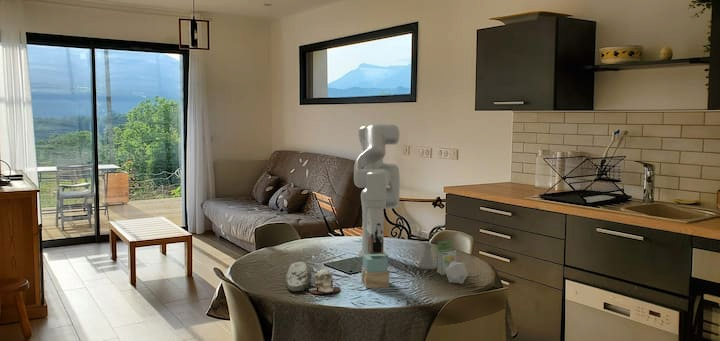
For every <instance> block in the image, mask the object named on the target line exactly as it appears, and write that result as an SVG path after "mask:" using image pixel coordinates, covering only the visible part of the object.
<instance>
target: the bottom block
mask: <svg viewBox="0 0 720 341" xmlns="http://www.w3.org/2000/svg"><path fill="white" fill-rule="evenodd" d="M390 274H391V272H390V271H389V270H388V272H370V273H367V272H366V271H365V269H364V268H363V266H361V283H362V284H363V286H364V288H365V289H374V288H375V289H376V288H390Z"/></svg>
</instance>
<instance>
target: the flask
mask: <svg viewBox="0 0 720 341" xmlns="http://www.w3.org/2000/svg"><path fill="white" fill-rule="evenodd" d="M423 246H424V251H423V255H422V258H421V260H420V262H419V265H418V267H419V268H420V269H422V270H434V269H437V265H436V264H435V261H434V257H433V255H432V244H430V243H425V244H424V245H423Z"/></svg>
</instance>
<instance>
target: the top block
mask: <svg viewBox="0 0 720 341" xmlns="http://www.w3.org/2000/svg"><path fill="white" fill-rule="evenodd" d="M388 263H389V258H388V257H387V255H386V256H385V255H384V254H363V258H362V267H363V268H364V269H365V271H366V272H367V273H370V272H388V271H389V270H388V269H389V268H388V266H389V264H388Z"/></svg>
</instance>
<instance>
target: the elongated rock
mask: <svg viewBox="0 0 720 341" xmlns="http://www.w3.org/2000/svg"><path fill="white" fill-rule="evenodd" d="M309 268H310V266H308V264H307V262H305V261H296V262H294V263H291V264H290V265H289V266H288V269H287V271H286V275H285V279H284V280H285V284H286V287H287V288H288V290H289V291H291V292H301V291H302V292H304V291H305V290H306V289H309V285H310V283H311V282H310V279H311V276H312V274H311V272H310V269H309Z"/></svg>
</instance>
